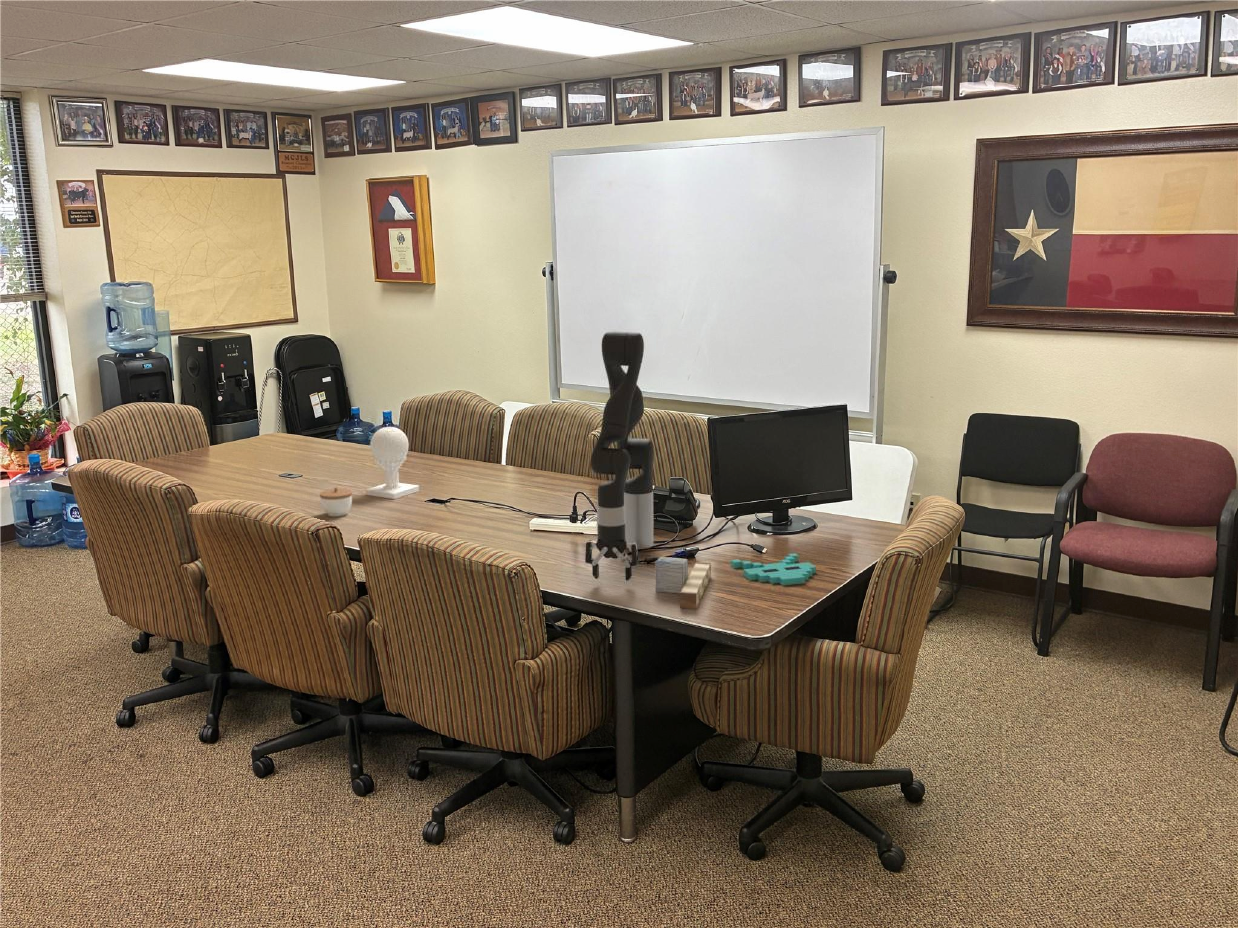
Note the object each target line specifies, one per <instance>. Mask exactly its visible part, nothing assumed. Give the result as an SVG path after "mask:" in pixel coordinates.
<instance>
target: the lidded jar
mask: <svg viewBox="0 0 1238 928" xmlns="http://www.w3.org/2000/svg"><path fill="white" fill-rule="evenodd" d="M319 497H320V498H319V499H320V503H321V507H322V510H323V511H324V512H325V513H326V514H327V515H328V516H329V517H342V516H346V515H347V514H348V512H349V511H350V509H351V508H352V504H353V491H352V489H347V488H338V487H334V488H331V489H327V490H324V491H321V492H320V493H319Z"/></svg>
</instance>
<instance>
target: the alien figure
mask: <svg viewBox="0 0 1238 928" xmlns="http://www.w3.org/2000/svg"><path fill="white" fill-rule="evenodd" d="M783 557H784V558H783V559H781V560H780V562H775V563H766V564H762V563H761V562H760V561H759V562H751V561H750V560H745V561H741V560H740V559H737V558H736V559H731V561H730V564H731V565H730V566H731V567H732V568H733V569H740V568H742V570H743V572H742V573H743V574H742V575H743V577H745V578H746V579H747V580H748V581H755V580H757V581H758V582H760V583H763V582H765V583H767V582H768V583H770V584H771V585H772V584H780V585H781V587H783V586H791V585H799V584H805V583H806V580H807V581H808V580H809V577H810V578H811V577H813V574H816V573H817V567H816V566H815V565H813V564H812V563H810V562H809V561H808V562H807V561H806V562H799V554H797V553H795V552H794V553H788V554H787V556H783ZM796 562H799V563H796Z"/></svg>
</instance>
